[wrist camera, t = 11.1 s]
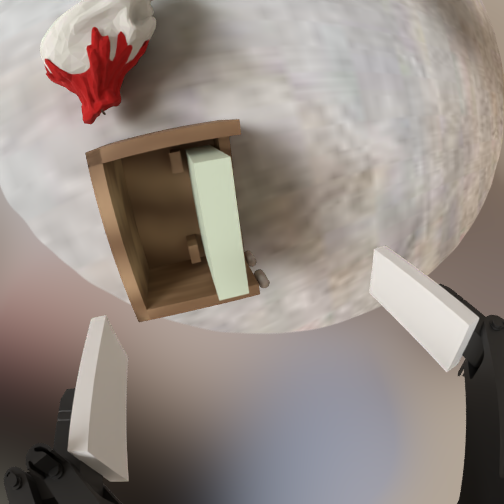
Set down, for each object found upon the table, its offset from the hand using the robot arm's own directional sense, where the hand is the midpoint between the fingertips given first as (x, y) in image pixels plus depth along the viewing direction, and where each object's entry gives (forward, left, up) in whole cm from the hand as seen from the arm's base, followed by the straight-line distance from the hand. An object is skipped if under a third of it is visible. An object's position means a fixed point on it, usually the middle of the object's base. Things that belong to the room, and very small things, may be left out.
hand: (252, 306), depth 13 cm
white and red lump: (-18, -8, -21) cm, 29 cm away
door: (0, 0, -20) cm, 20 cm away
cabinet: (0, -3, -21) cm, 21 cm away
